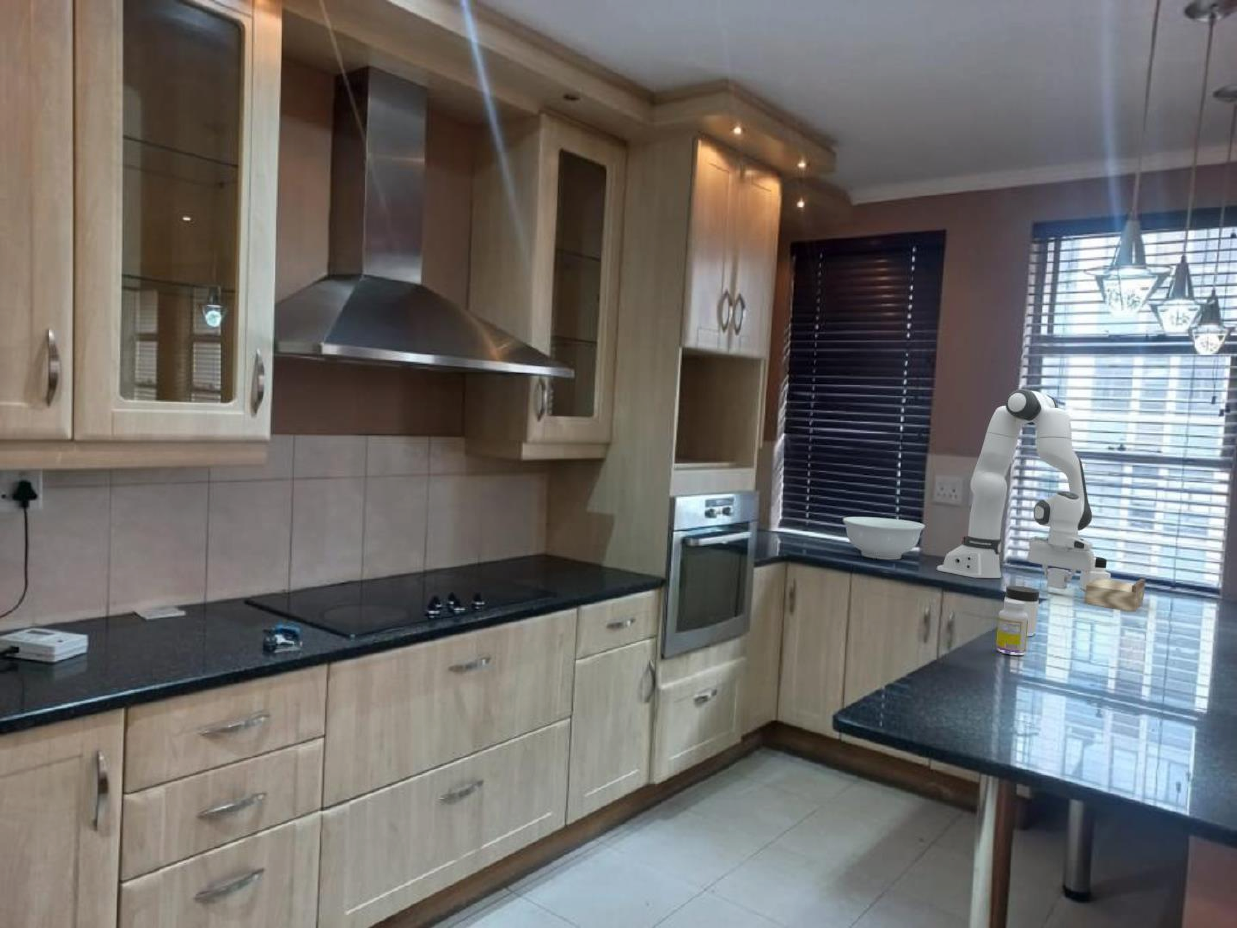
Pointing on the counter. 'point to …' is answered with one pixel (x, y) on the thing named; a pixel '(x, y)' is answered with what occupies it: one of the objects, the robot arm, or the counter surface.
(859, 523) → the bowl
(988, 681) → the counter surface
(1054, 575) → the lock block
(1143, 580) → the riser
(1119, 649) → the counter surface
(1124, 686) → the counter surface
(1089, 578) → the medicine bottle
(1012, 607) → the supplement bottle
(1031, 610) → the jar
